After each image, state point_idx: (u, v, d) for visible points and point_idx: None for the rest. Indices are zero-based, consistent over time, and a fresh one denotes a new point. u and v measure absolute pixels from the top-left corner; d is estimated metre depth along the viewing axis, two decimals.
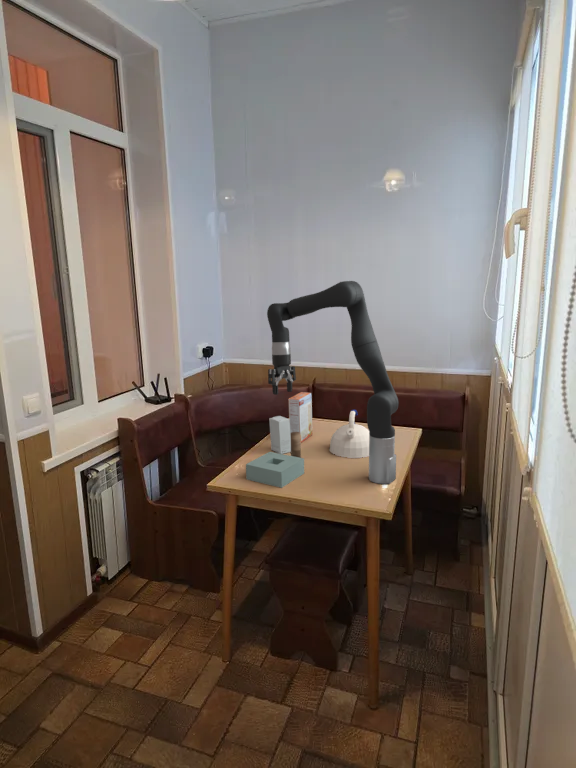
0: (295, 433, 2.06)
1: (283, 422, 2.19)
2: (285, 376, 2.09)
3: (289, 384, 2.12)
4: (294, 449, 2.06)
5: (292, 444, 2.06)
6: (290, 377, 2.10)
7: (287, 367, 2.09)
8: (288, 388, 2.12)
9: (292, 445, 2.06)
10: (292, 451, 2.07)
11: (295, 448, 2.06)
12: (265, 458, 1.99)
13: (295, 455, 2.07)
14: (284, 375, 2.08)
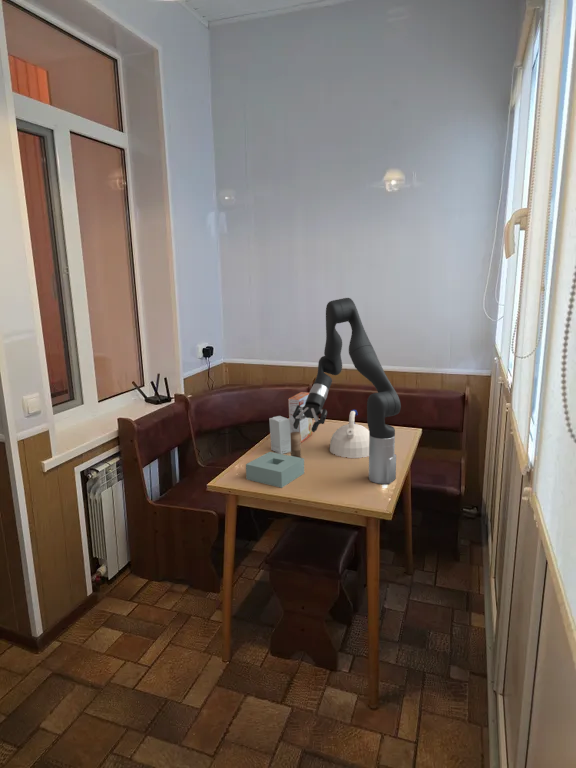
0: (295, 433, 2.06)
1: (283, 422, 2.19)
2: (310, 414, 2.14)
3: None
4: (294, 449, 2.06)
5: (292, 444, 2.06)
6: (314, 415, 2.12)
7: (316, 407, 2.15)
8: None
9: (292, 445, 2.06)
10: (292, 451, 2.07)
11: (295, 448, 2.06)
12: (265, 458, 1.99)
13: (295, 455, 2.07)
14: (309, 413, 2.14)
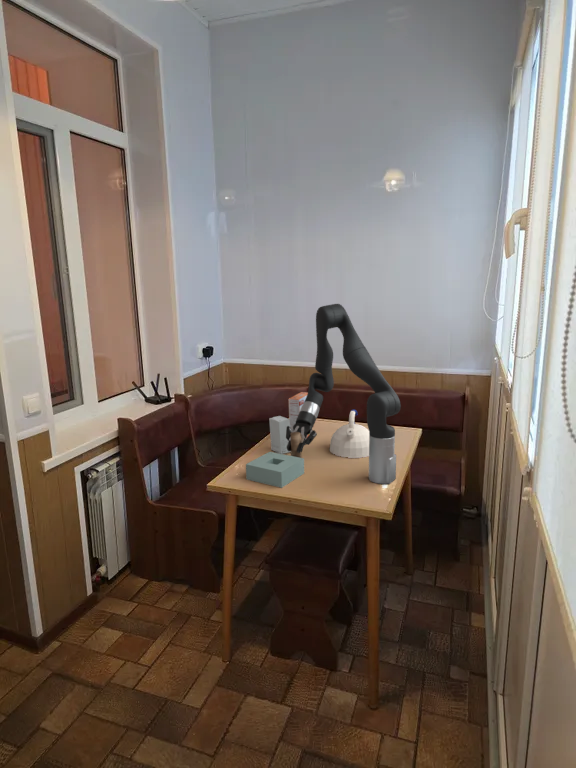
0: (295, 433, 2.06)
1: (283, 422, 2.19)
2: None
3: None
4: (294, 450, 2.06)
5: (292, 444, 2.06)
6: (301, 435, 2.07)
7: (307, 426, 2.09)
8: None
9: (292, 445, 2.06)
10: (292, 451, 2.07)
11: (295, 448, 2.06)
12: (265, 458, 1.99)
13: (295, 455, 2.07)
14: None
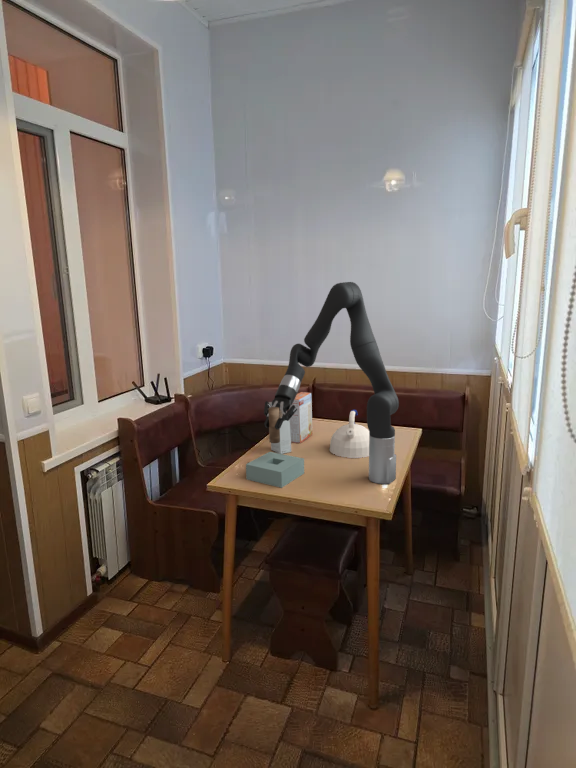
0: (273, 408, 1.91)
1: (283, 422, 2.19)
2: None
3: None
4: (273, 426, 1.91)
5: (270, 420, 1.91)
6: (280, 410, 1.92)
7: (287, 400, 1.94)
8: None
9: (270, 421, 1.91)
10: (270, 428, 1.92)
11: (273, 424, 1.91)
12: (265, 458, 1.99)
13: (273, 432, 1.91)
14: None
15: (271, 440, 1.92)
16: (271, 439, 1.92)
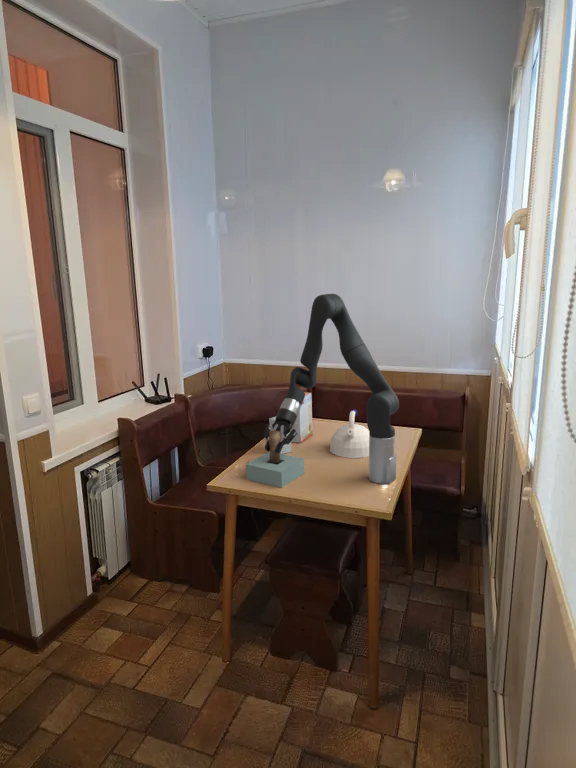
0: (274, 432, 1.93)
1: None
2: None
3: None
4: (273, 449, 1.93)
5: (270, 443, 1.93)
6: (280, 434, 1.94)
7: (287, 424, 1.96)
8: None
9: (270, 445, 1.93)
10: (271, 451, 1.94)
11: (274, 448, 1.93)
12: (265, 458, 1.99)
13: (274, 455, 1.93)
14: (279, 431, 1.96)
15: (271, 463, 1.94)
16: (271, 462, 1.94)
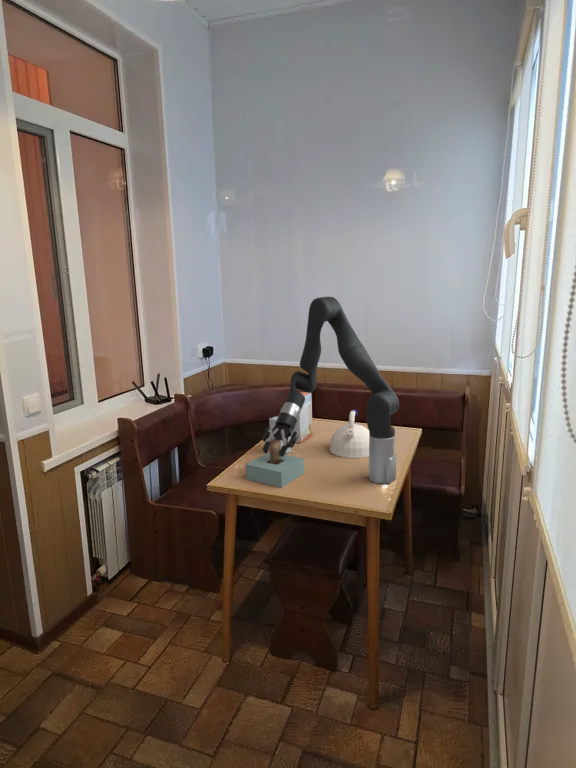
0: (275, 441, 1.93)
1: None
2: (279, 436, 1.96)
3: None
4: (274, 459, 1.94)
5: (271, 452, 1.94)
6: (283, 438, 1.94)
7: (287, 428, 1.96)
8: None
9: (271, 454, 1.94)
10: (271, 460, 1.94)
11: (275, 457, 1.93)
12: (265, 458, 1.99)
13: None
14: (279, 435, 1.96)
15: None
16: None
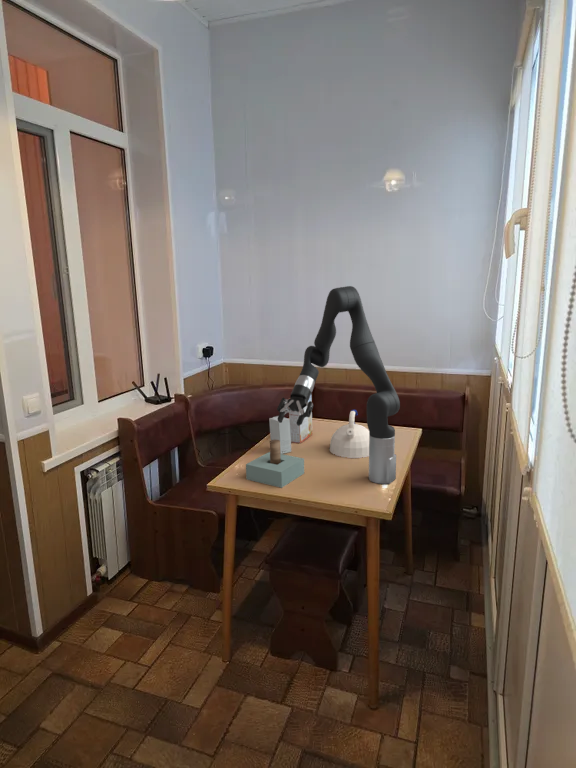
0: (274, 441, 1.93)
1: (283, 422, 2.19)
2: (295, 407, 2.03)
3: None
4: (274, 459, 1.94)
5: (271, 452, 1.94)
6: (299, 408, 2.01)
7: (301, 400, 2.04)
8: None
9: (271, 454, 1.94)
10: (271, 460, 1.94)
11: (274, 457, 1.93)
12: (265, 458, 1.99)
13: None
14: (294, 406, 2.04)
15: None
16: None
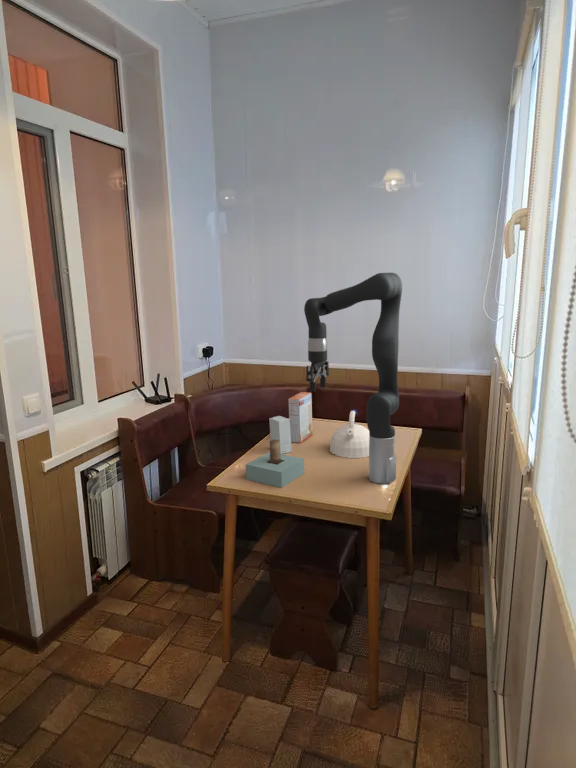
0: (274, 441, 1.94)
1: (283, 422, 2.19)
2: (321, 372, 2.05)
3: (323, 380, 2.09)
4: (274, 459, 1.94)
5: (271, 452, 1.94)
6: (325, 373, 2.07)
7: (322, 363, 2.06)
8: (322, 384, 2.10)
9: (271, 454, 1.94)
10: (271, 460, 1.94)
11: (274, 457, 1.93)
12: (265, 458, 1.99)
13: None
14: (320, 371, 2.05)
15: None
16: None
